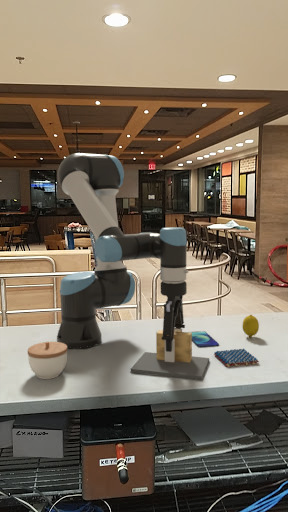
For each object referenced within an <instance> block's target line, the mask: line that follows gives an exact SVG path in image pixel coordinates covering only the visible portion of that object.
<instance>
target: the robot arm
mask: <svg viewBox="0 0 288 512" xmlns="http://www.w3.org/2000/svg"><path fill="white" fill-rule="evenodd" d="M124 178H125V172H124V167H123V164H122V163H121V161H120V160H119V159H118V158H117V157H116V156H114V155H108V154H105V153H103V154H100V153H99V154H97V153H83V152H81V153H80V152H76V153H72V154H69V155H67V156H66V157H65V158H64V159H63V160H62V161H61V162H60V165H59V167H58V170H57V181H58V184H59V186H60V188H61V190H62V191H63V193H64V194H66V195H67V196H69V198H71V200H72V202H73V204H74V205H75V207H76V208H77V210H78V212H79V213H80V214H81V216H82V218H83V220H84V221H85V223H86V224H87V226H88V227H89V230H90V231H91V232H92V234H93V236H94V239H95V240H94V241H95V243H94V251H95V253H96V254H95V255H96V259H97V266H96V267H95V269H93V270H94V272H92V271H82V272H80V271H79V272H75V273H71V274H67V275H65V276H64V277H62V279H61V280H60V284H59V285H60V286H59V287H60V288H59V294H60V296H59V297H60V313H61V321H60V324H59V328H58V333H57V335H56V342H60V343H64V344H66V345H67V349H75V350H79V349H86V348H92V347H94V346H95V347H96V346H97V345H99V344H100V343H101V342H102V341H103V340H102V332H101V329H100V326H99V324H98V323H99V322H98V321H97V318H96V317H97V316H96V315H97V314H96V312H97V311H96V310H97V309H98V310H99V309H104V308H110V307H114V306H116V307H117V306H122V305H124V304H128V303H129V302H131V301H132V298H133V297H134V296H135V291H136V281H135V278H134V275H133V274H132V272H130V271H128V268H127V266H126V264H124V263H123V261H124V262H125V261H129V260H139V259H140V260H142V259H144V260H145V259H151V258H152V259H159V261H160V264H159V267H160V271H159V274H160V278H159V279H160V281H161V282H160V294H161V295H162V296H164V297H166V301H165V303H164V304H163V320H162V321H163V323H162V330H163V337H162V338H161V339H162V340H165V362H175V339H174V331H176V332H183V329H185V328H186V324H184V323H185V321H184V309H183V297H184V296H186V295H187V287H188V286H187V282H186V280H187V274H189V270H188V269H187V252H188V251H187V250H188V247H187V245H188V241H187V231H186V229H185V228H184V227H176V226H174V227H172V226H171V227H162V228H161V229H160V230H159V233H157V232H152V231H148V232H147V231H146V232H140V233H135V234H134V233H131V234H124V232H123V231H122V230H121V228H120V227H119V222H118V211H117V203H116V202H117V201H116V196H117V194H118V193H119V191H120V190H119V188H120V187H121V186H122V185H123V183H124ZM167 335H169V336H167Z"/></svg>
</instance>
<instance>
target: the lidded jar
mask: <svg viewBox="0 0 288 512" xmlns="http://www.w3.org/2000/svg"><path fill="white" fill-rule="evenodd" d="M27 357H28V364H29V367H30V369H31V371H32V373H34V375H36V376H37V378H39V379H42V380H51V379H55V378H57V377H59V376H60V375H61V373H62V372H63V371H64V369H65V368H66V365H67V360H68V348H67V345H66V344H64V343H60V342H57V341H45V342H39V343H35V344H33V345H31V346H29V347H28V349H27Z"/></svg>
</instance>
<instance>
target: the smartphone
mask: <svg viewBox="0 0 288 512" xmlns="http://www.w3.org/2000/svg"><path fill="white" fill-rule="evenodd" d="M188 332H189V333H192V344H194V345H195V346H196V347H197V348H211V347H220V343H219V342H218V341H216V339H214V338H213V337H212V336H211V335H210V334H208V332H207V331H205V330H200V331H199V330H198V331H188Z"/></svg>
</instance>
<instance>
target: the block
mask: <svg viewBox="0 0 288 512" xmlns="http://www.w3.org/2000/svg"><path fill="white" fill-rule="evenodd" d="M189 332H190V331H188V332H187V331H182V332H176V331H174V339H175V361H179V362H189V363H190V361H191V360H192V356H193V351H192V350H193V342H192V333H189ZM167 336H169V335H167ZM162 337H163V329H162V330H160V329H159V330H157V332H156V336H155V338H156V341H155V342H156V344H155V345H156V353H157V359H159V360H165V340H162V339H161V338H162Z"/></svg>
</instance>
